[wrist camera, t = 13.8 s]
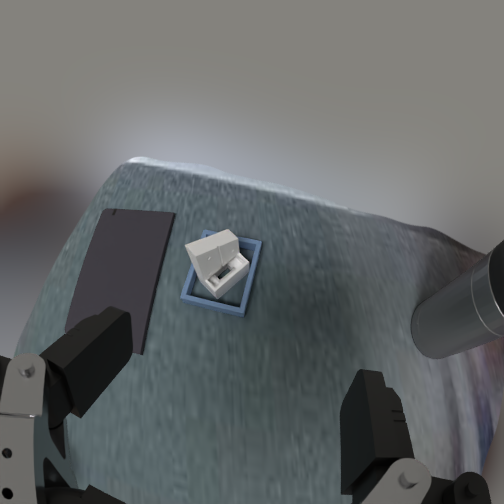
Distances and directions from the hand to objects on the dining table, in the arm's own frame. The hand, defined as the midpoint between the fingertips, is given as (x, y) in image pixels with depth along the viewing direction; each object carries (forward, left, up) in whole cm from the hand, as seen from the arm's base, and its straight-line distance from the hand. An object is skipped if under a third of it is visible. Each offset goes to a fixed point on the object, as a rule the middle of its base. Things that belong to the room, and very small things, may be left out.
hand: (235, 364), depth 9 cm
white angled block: (+6, -13, -27) cm, 31 cm away
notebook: (+21, -10, -28) cm, 36 cm away
